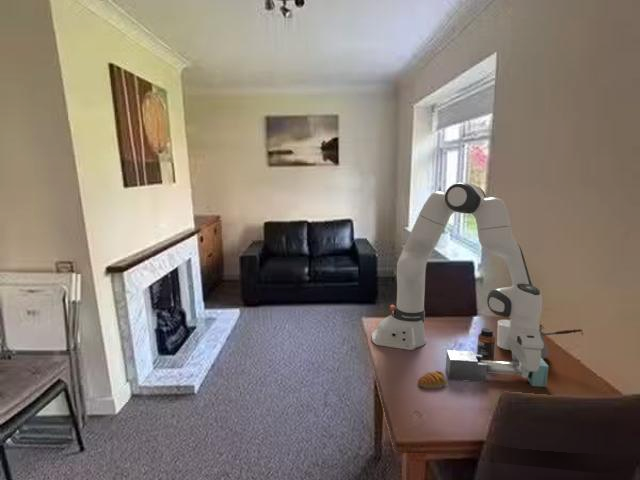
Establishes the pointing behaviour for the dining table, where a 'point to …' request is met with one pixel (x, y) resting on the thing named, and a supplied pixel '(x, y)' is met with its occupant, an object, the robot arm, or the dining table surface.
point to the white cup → (503, 333)
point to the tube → (504, 367)
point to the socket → (539, 375)
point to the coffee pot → (545, 351)
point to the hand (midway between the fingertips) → (519, 370)
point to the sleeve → (465, 366)
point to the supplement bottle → (486, 344)
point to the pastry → (432, 380)
